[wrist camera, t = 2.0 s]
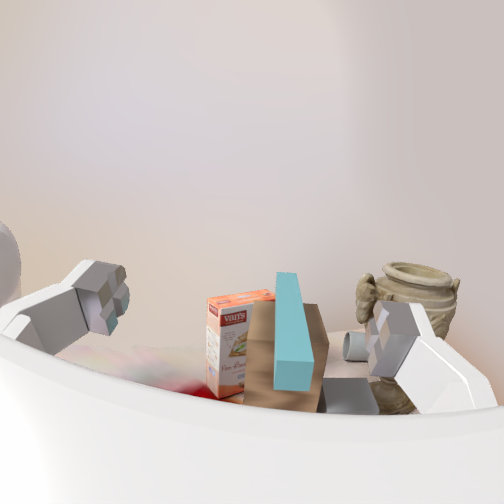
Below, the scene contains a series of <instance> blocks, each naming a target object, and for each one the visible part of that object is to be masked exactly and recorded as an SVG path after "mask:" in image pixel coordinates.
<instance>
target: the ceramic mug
mask: <svg viewBox="0 0 504 504" xmlns="http://www.w3.org/2000/svg"><path fill="white" fill-rule="evenodd" d="M368 357H369V352H368V351H367V350H366V348H365V333H360V332H353V331H348V332H347V333H346V335H345V338H344V342H343V358H344V360H354V361H359V360H360V361H368Z"/></svg>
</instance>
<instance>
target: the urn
mask: <svg viewBox="0 0 504 504" xmlns="http://www.w3.org/2000/svg"><path fill="white" fill-rule="evenodd" d="M382 270H383V271H384V272H385V274H386V276H384V277H380V278H378V279H376V280H374V277H373V275H371V274H370V273H365V274H363V275H362V277H361V278H360V280H359V283H358V285H357V289H356V298H357V299H356V306H357V310H356V317H357V321H358V322H359V323H361V324H363V323H364V325H365V330H366V328H367V325H368V322H369V321H370V320H371V319H372V318H374V313H373V309H374V306H375V304H376V302H377V301H378V300H379V301H390V302H401V303H406V302H408V303H420V304H421V305H423V308H424V310H425V312H426V315H427V317H428V319H429V322H430V324H431V326H432V329H433V331H434V334H435V336H436V337H440V338H441V339H442V340H443V341H444V339H445V337H446V335H447V333H448V330H449V325H450V322H451V320H452V318H453V317H454V314H455V309H456V305H457V302H456V299H457V290H458V287H459V284H460V280H459V279H458V278H457V279H455V280H454V282H453V281H452V278H451V276H449V275H448V273H445V272H442V271H440V270H437V269H434V268H431V267H427V266H423V265H418V264H412V263H403V262H391V263H387V264H385V265H384V266H383V269H382ZM369 355H370V353H369ZM379 377H380V379H381V381H377V382H372V383H369V385H370V388H371V390H372V393H373V395H374V398H375V400H376V402H377V405H378V407H379V410H380V411H379V414H378V415H404V414H407V413H409V412H411V411H413V410H414V408H415V405H414V404H413V402H412V401H411V400H410V398H408V396H407V394H406V393H405V392H404V391H403V389H402V388H401V387H400V386H399V385H397V381H396V380H395V379H394V378H395V377H381V376H379Z"/></svg>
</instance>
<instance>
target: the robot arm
mask: <svg viewBox="0 0 504 504" xmlns="http://www.w3.org/2000/svg"><path fill="white" fill-rule="evenodd" d="M20 276H21V261H20V253H19V249H18V246H17V242H16V240H15V238H14V236H13V234H12V233H11V231H10V230H9V229H8V227H6V226H5V225H4V224H3V223H2V222H0V504H504V405H502V406H498V405H497V402H496V399H495V397H494V394H493V391H492V389H491V386H490V384H489V381H488V379H487V378H486V377H485V376H484V375H483V374H482V373H480V372H479V371H478V370H477V369H476V368H475V367H474V366H473V365H471V364H470V363H469V362H468V361H467V360H466V359H465V358H463V357H462V356H461V355H460V354H459V353H458V352H456V351H455V350H454V349H453V348H452V347H450V346H449V345H448V344H447V343H446V342H445V341H443V340H442V339H441V338H440V337H436V336H435V334H434V331H433V329H432V326H431V324H430V322H429V319H428V317H427V315H426V312H425V310H424V308H423V305H421V304H420V303H408V302H406V303H401V302H390V301H379V300H378V301H377V302H376V304H375V306H374V309H373V313H374V318H372V319H371V320H370V321H369V322H368V325H367V328H366V332H365V348H366V350H367V351H368V352H369V353H370V355H369V357H368V366H369V372H370V376H381V377H395V378H394V379H395V380H396V381H397V383H398V384H399V385H400V387H401V388H402V389H403V391H404V392H405V393H406V394H407V396H408V397H409V398H410V400H411V401H412V402H413V404H414V405H415V406H416V408H417V409H418V410H419V412H420V413H421V414H410V415H347V414H326V413H311V412H299V411H289V410H279V409H270V408H262V407H255V406H248V405H241V404H235V403H228V402H222V401H217V400H211V399H206V398H201V397H196V396H191V395H186V394H181V393H177V392H172V391H168V390H164V389H160V388H156V387H152V386H148V385H144V384H140V383H136V382H133V381H129V380H125V379H122V378H118V377H115V376H112V375H108V374H105V373H102V372H99V371H96V370H93V369H90V368H86V367H84V366H81V365H78V364H75V363H72V362H69V361H66V360H64V359H61V358H58V357H56V356H54V355H55V354H57V353H58V352H60V351H61V350H63V349H64V348H66V347H67V346H69V345H70V344H72V343H73V342H75V341H76V340H78V339H79V338H81V337H82V336H84V335H85V334H87V333H88V331H90V332H94V333H99V334H103V335H107V336H110V335H111V333H112V332H113V330H114V329H115V327H116V326H117V324H118V320H117V317H119V316H121V315H123V314H124V313H125V311H126V310H127V308H128V303H129V295H130V294H129V288H128V287H127V286H126V284H125V283H124V280H125V278H126V272H125V268H124V267H123V266H121V265H116V264H110V263H105V262H100V261H95V260H89V259H85V260H82V261H81V262H80V263H79V264H78V265H77V266H76V267H75V268H74V269H73V270H72V272H70V274H69V275H68V276H67V277H66V278H65V279H64V280H63V281H62V282H61V283H60V284H53V285H51V286H48V287H46V288H44V289H41V290H39V291H37V292H34V293H32V294H29V295H27V296H25V297H23V298H21V281H20Z"/></svg>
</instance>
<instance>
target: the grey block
mask: <svg viewBox="0 0 504 504" xmlns="http://www.w3.org/2000/svg"><path fill="white" fill-rule="evenodd" d="M379 411H380V410H379V407H378V405H377V402H376V400H375V398H374V395H373V393H372V390H371V388H370V385H369V383H368V381H367V378H323V381H322V386H321V391H320V396H319V400H318V405H317V410H316V413H326V414H347V415H378V414H379Z"/></svg>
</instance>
